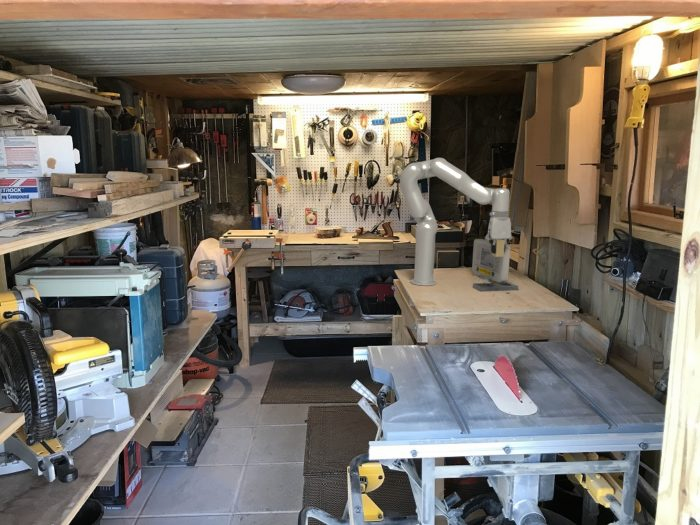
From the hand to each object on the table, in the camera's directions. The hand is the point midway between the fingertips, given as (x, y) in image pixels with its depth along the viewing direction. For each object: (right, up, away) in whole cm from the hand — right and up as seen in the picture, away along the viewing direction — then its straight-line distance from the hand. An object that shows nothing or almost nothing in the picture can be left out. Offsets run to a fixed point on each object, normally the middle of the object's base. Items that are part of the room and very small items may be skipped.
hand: (498, 252), depth 262 cm
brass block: (0, -2, 0) cm, 2 cm away
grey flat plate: (0, -18, +4) cm, 18 cm away
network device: (+1, -14, +21) cm, 26 cm away
